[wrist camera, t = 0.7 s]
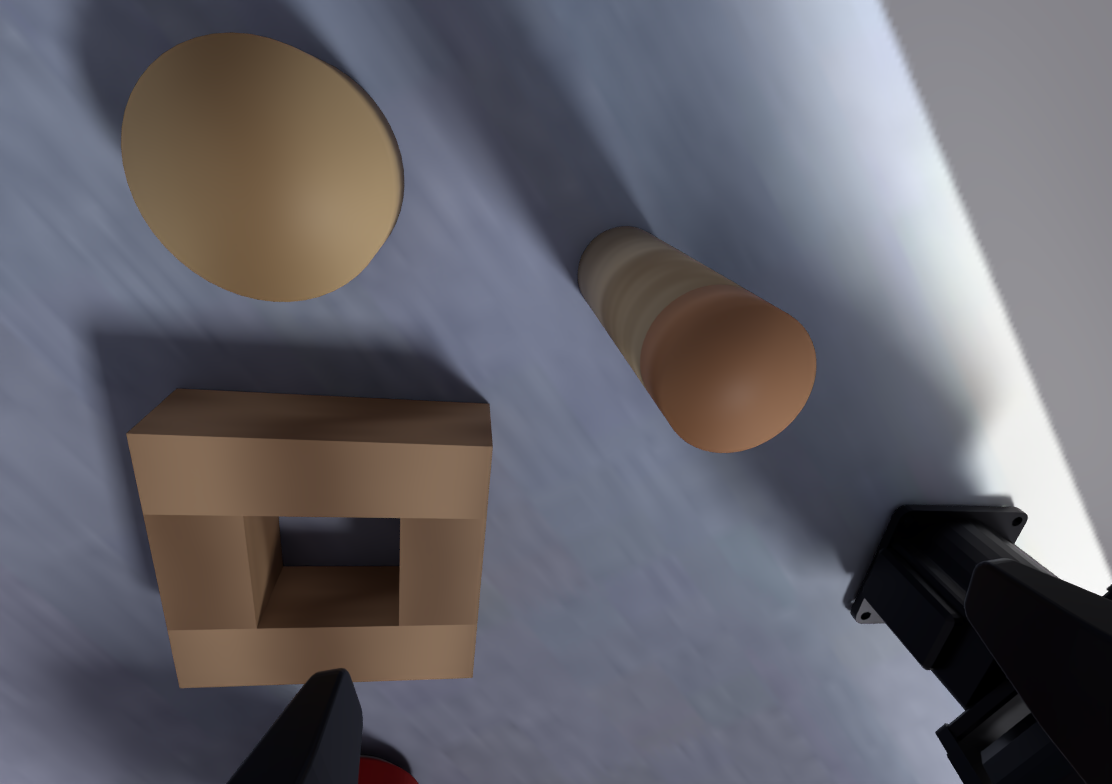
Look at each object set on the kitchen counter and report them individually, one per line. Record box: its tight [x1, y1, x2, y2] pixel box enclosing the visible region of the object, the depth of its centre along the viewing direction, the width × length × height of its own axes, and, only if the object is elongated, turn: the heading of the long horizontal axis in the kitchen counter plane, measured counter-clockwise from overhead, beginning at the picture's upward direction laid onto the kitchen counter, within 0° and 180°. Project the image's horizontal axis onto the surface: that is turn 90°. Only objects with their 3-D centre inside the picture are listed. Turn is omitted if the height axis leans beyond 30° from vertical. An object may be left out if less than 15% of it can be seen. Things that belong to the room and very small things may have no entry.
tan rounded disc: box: [121, 33, 404, 302], centre depth 15 cm, size 6×6×3 cm
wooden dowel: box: [578, 226, 816, 453], centre depth 15 cm, size 3×3×9 cm
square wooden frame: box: [126, 388, 493, 688], centre depth 20 cm, size 10×10×3 cm
